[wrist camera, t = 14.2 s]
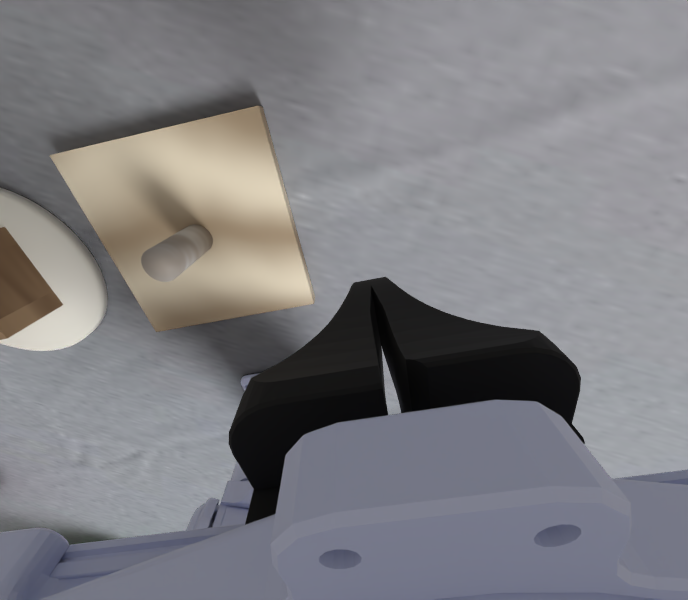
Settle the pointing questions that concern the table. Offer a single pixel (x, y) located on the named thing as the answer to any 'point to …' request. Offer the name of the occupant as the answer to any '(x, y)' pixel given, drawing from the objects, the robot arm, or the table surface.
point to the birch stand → (194, 218)
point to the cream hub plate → (55, 275)
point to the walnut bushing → (21, 289)
